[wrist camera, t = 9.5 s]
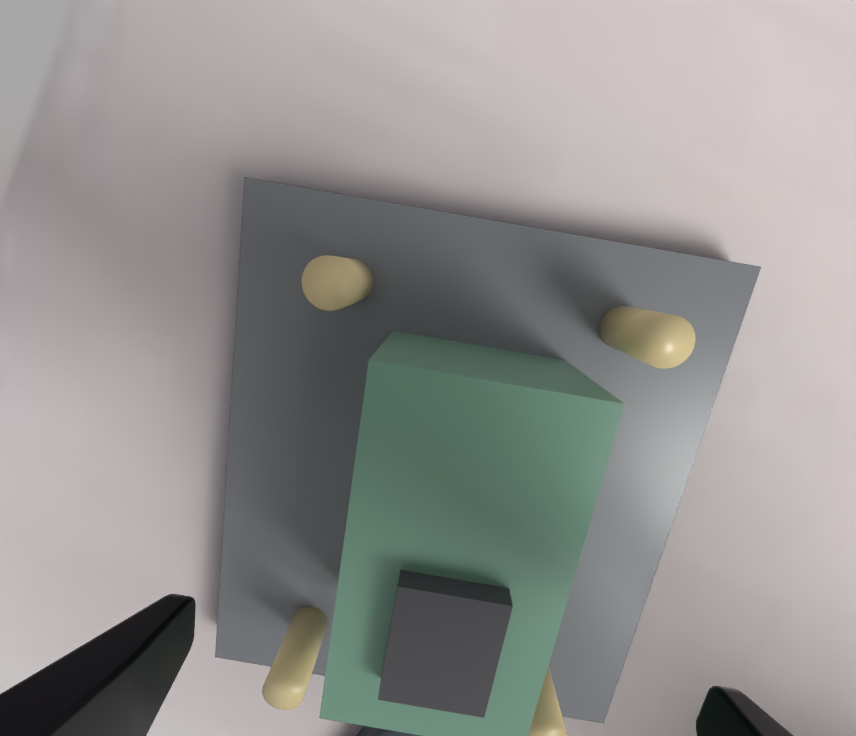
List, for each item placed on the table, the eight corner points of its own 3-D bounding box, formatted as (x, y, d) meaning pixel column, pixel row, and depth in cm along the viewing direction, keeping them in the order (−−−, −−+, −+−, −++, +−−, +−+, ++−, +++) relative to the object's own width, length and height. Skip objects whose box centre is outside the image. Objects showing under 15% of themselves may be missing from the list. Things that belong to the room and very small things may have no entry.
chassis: (735, 267, 12) (849, 266, 9) (593, 695, 16) (634, 811, 12) (260, 184, 12) (188, 150, 9) (229, 633, 16) (170, 732, 12)
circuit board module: (565, 360, 12) (636, 412, 8) (501, 618, 14) (527, 777, 10) (393, 330, 12) (364, 365, 8) (354, 593, 14) (313, 740, 10)
